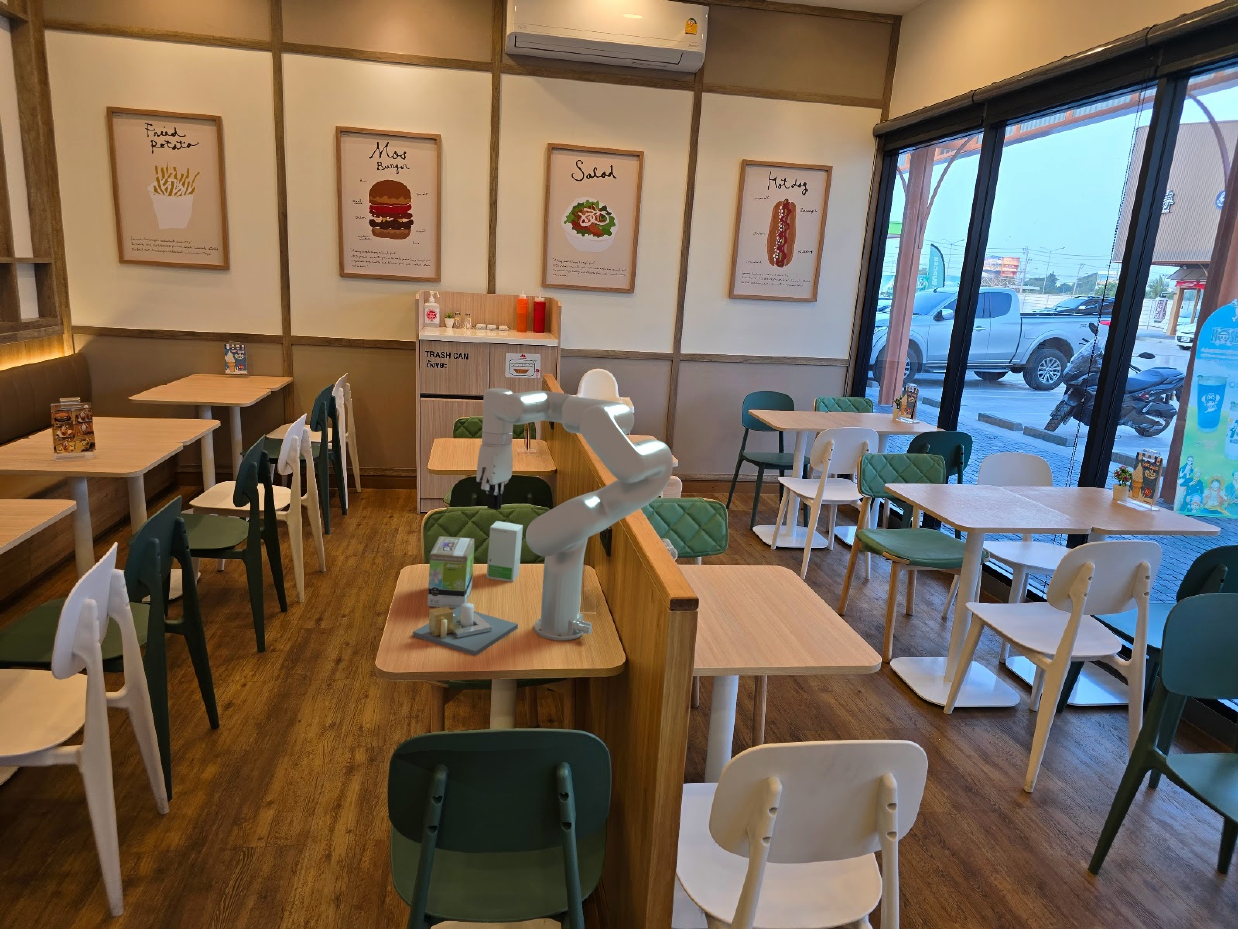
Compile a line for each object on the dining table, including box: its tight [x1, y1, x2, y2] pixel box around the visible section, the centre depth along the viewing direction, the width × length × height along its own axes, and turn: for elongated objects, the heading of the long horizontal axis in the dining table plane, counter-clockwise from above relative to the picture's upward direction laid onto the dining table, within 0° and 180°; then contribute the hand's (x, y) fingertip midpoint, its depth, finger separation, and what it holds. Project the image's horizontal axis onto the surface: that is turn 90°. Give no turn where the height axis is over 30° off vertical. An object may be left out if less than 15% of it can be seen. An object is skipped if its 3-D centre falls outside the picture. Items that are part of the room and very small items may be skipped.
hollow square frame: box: [428, 607, 492, 638], centre depth 197 cm, size 14×9×6 cm, turn 126°
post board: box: [412, 602, 519, 657], centre depth 198 cm, size 18×18×7 cm
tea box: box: [427, 535, 475, 609], centre depth 217 cm, size 15×10×15 cm, turn 3°
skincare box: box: [486, 520, 524, 583], centre depth 234 cm, size 8×7×16 cm
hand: (494, 508), depth 208 cm, fingers closed
